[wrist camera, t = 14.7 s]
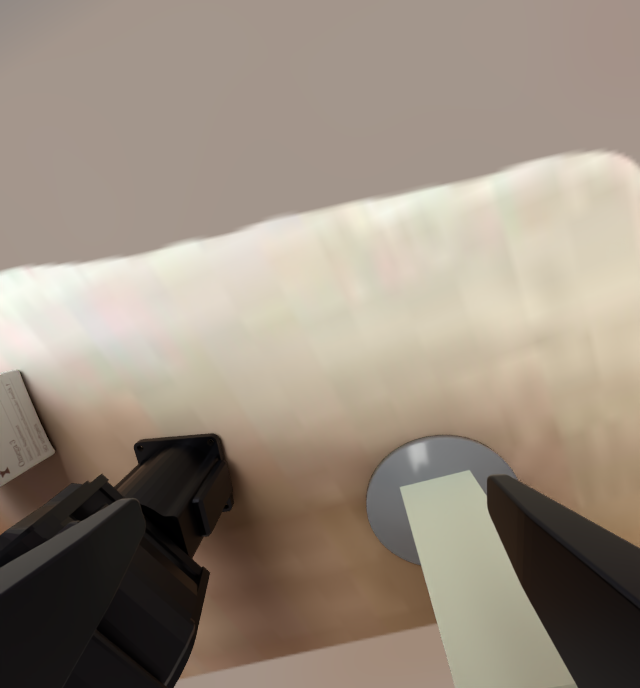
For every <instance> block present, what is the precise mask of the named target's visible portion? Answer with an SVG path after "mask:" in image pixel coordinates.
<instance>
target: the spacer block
mask: <svg viewBox="0 0 640 688" xmlns="http://www.w3.org/2000/svg"><path fill="white" fill-rule="evenodd" d="M400 490H401V494H402V498H403V501H404V505H405V508H406V512H407V516H408V519H409V523H410V526H411V530H412V534H413V537H414V541H415V545H416V548H417V552H418V555H419V559H420V563H421V566H422V570H423V573H424V577H425V581H426V584H427V588H428V592H429V595H430V599H431V602H432V606H433V610H434V613H435V617H436V620H437V624H438V628H439V631H440V635H441V638H442V642H443V646H444V649H445V653H446V656H447V660H448V664H449V667H450V671H451V674H452V678H453V682H454V685H455V688H578V687H577V685H576V683H575V682H574V680H573V678H572V676H571V675H570V673H569V671H568V669H567V667H566V666H565V664H564V662H563V660H562V658H561V657H560V655H559V653H558V651H557V649H556V648H555V646H554V644H553V642H552V640H551V639H550V637H549V635H548V633H547V632H546V630H545V628H544V626H543V624H542V623H541V621H540V619H539V617H538V615H537V614H536V612H535V610H534V608H533V606H532V605H531V603H530V601H529V599H528V597H527V595H526V594H525V592H524V590H523V588H522V586H521V584H520V582H519V580H518V577H517V575H516V573H515V571H514V569H513V566H512V564H511V562H510V560H509V557H508V555H507V553H506V551H505V549H504V546H503V544H502V542H501V540H500V537H499V535H498V533H497V531H496V528H495V526H494V524H493V522H492V520H491V517H490V515H489V512H488V508H487V496H486V494H485V493H484V491H483V490H482V488H481V487H480V485H479V484H478V482H477V481H476V479H475V478H474V476H473V474H472V473H471V471H470V470H467V471H463V472H459V473H455V474H451V475H447V476H443V477H439V478H435V479H431V480H427V481H422V482H418V483H414V484H410V485H406V486H402V487H400Z"/></svg>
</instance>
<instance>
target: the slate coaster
mask: <svg viewBox="0 0 640 688" xmlns="http://www.w3.org/2000/svg"><path fill="white" fill-rule="evenodd" d="M467 470H470V471H471V473H472V474H473V476H474V478H475V479H476V481H477V482H478V484H479V485H480V487H481V488H482V490H483V491H484V493H485V494H486V496H487V478H488V476H490V475H498V474H506V475H509V476H511V477H513V478H514V479H516V480H518V479H517V477H516V475H515V474H514V472H513V470H512V469H511V468H510V467H509V465H508V464H507V463H506V462H505V461H504V460H503V459H502V457H501V456H499V455H498V454H497V453H496V452H495V451H494V450H492V449H491V448H489V447H488V446H486V445H484V444H482V443H480V442H478V441H475V440H472V439H469V438H465V437H461V436H453V435H435V436H428V437H423V438H419V439H416V440H413V441H411V442H408V443H406V444H404V445H402V446H400V447H398V448H397V449H395V450H394V451H393V452H391V453H390V454H389V455H388V456H387V457H385V458H384V459H383V460H382V462H381V463H380V464H379V465H378V466H377V468H376V469H375V471H374V473H373V474H372V477H371V479H370V481H369V484H368V488H367V494H366V507H367V514H368V519H369V522H370V525H371V528H372V530H373V532H374V533H375V535H376V536H377V538H378V539H379V541H380V542H381V543H382V544H383V545H384V546H385V547H386V548H387V549H388V550H390V551H391V552H392V553H394V554H395V555H397V556H399V557H400V558H402V559H404V560H407V561H409V562H412V563H415V564H418V565H421V563H420V559H419V555H418V552H417V548H416V545H415V541H414V537H413V534H412V530H411V526H410V523H409V519H408V516H407V512H406V508H405V505H404V501H403V498H402V494H401V490H400V487H402V486H406V485H410V484H414V483H418V482H422V481H427V480H431V479H435V478H439V477H443V476H447V475H451V474H455V473H459V472H463V471H467Z"/></svg>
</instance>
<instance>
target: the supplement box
mask: <svg viewBox="0 0 640 688" xmlns="http://www.w3.org/2000/svg"><path fill="white" fill-rule="evenodd" d="M54 453H55V450H54V449H53V447H52V445H51V444H50V442H49V440H48V438H47V436H46V433H45V431H44V429H43V427H42V425H41V423H40V420H39V418H38V416H37V414H36V411H35V409H34V406H33V404H32V402H31V399H30V397H29V395H28V393H27V390H26V388H25V385H24V383H23V380H22V377H21V374H20V372H19V370H10V371H6V372H1V373H0V487H1V486H3V485H4V484H6V483H8V482H9V481H11V480H12V479H14V478H16V477H17V476H19V475H20V474H22V473H24V472H25V471H27V470H29V469H30V468H32V467H33V466H35V465H37V464H38V463H40V462H42V461H43V460H45V459H47V458H48V457H50V456H52V455H53V454H54Z"/></svg>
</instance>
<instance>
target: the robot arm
mask: <svg viewBox="0 0 640 688" xmlns="http://www.w3.org/2000/svg"><path fill="white" fill-rule="evenodd" d="M209 439H211V440H213V442H214V443H212V442H210V440H209ZM141 446H142V447H143V448H142V447H141ZM134 450H135V454H136V457H137V460H138V465H137V466H136V467H135V468H134V469H133V470H132V471H131V472H130V473H129V474H128V475H126V476H125V477H124V478H123V479H122V480H121V481H120V482H119V483H118V484H117V485H116V486H115V487H113V486H112V485H111V484H109V483H108V482H107V481H108V479H107V478H106V477H105V476H104V475H103V474H101V475H100V476H98V477H97V478H96V479H95V480H94V481H92V482H91V483H90V482H88V481H86V482H85V483H84V484H74V483H71V484H70V485H69V486H68V487H66V488H65V489H64V490H63V491H61V492H60V493H59V494H57V495H56V496H55V497H54V498H52V499H51V500H50V501H48V502H47V503H46V504H44V505H43V506H42V507H40V508H39V509H37V510H36V511H34V512H33V513H31V514H30V515H28V516H27V517H25V518H24V519H22V520H21V521H20V522H18V523H17V524H15V525H14V526H12V527H11V528H9V529H8V530H6V531H5V532H4V533H3V534H1V535H0V688H174V686H175V684H176V682H177V681H178V679H179V677H180V675H181V674H182V672H183V669H184V667H185V665H186V663H187V661H188V659H189V656H190V654H191V651H192V649H193V646H194V642H195V639H196V634H197V630H198V625H199V621H200V616H201V612H202V607H203V602H204V598H205V593H206V589H207V584H208V580H209V575H210V572H209V571H208V570H207V569H206V568H205V567H200V566H199V565H198V564H197V563H196V562H195V561H194V560H193V559H192V558H193V556H194V554H195V552H196V550H197V548H198V546H199V545H200V543H201V541H202V539H203V537H205V536H209V535H210V534H211V532H212V531H213V529H214V527H215V525H216V523H217V521H218V519H219V517H220V515H221V513H222V512H227V511H230V510H231V508H232V506H233V504H234V501H233V497H232V490H233V489H232V484H231V480H230V476H229V471H228V467H227V463H226V461H225V460H224V458H223V454H222V449H221V445H220V441H219V438H218V436H217V435H215V434H200V435H188V436H177V437H165V438H154V439H142V440H139V441H138V442H137V443H136V444H135V445H134ZM226 504H228V505H226ZM487 508H488V512H489V515H490V517H491V520H492V522H493V524H494V526H495V528H496V531H497V533H498V535H499V537H500V540H501V542H502V544H503V546H504V549H505V551H506V553H507V555H508V557H509V560H510V562H511V564H512V566H513V569H514V571H515V573H516V575H517V577H518V580H519V582H520V584H521V586H522V588H523V590H524V592H525V594H526V595H527V597H528V599H529V601H530V603H531V605H532V606H533V608H534V610H535V612H536V614H537V615H538V617H539V619H540V621H541V623H542V624H543V626H544V628H545V630H546V632H547V633H548V635H549V637H550V639H551V640H552V642H553V644H554V646H555V648H556V649H557V651H558V653H559V655H560V657H561V658H562V660H563V662H564V664H565V666H566V667H567V669H568V671H569V673H570V675H571V676H572V678H573V680H574V682H575V683H576V685H577V687H578V688H640V548H639V547H637V546H635V545H633V544H631V543H630V542H628V541H626V540H624V539H622V538H621V537H619V536H617V535H615V534H613V533H612V532H610V531H608V530H606V529H604V528H603V527H601V526H599V525H597V524H595V523H594V522H592V521H590V520H588V519H586V518H585V517H583V516H581V515H579V514H577V513H576V512H574V511H572V510H570V509H568V508H567V507H565V506H563V505H561V504H559V503H558V502H556V501H554V500H552V499H550V498H549V497H547V496H545V495H543V494H541V493H540V492H538V491H536V490H534V489H532V488H531V487H529V486H527V485H525V484H523V483H522V482H520V481H518V480H516V479H514V478H513V477H511V476H509V475H506V474H498V475H490V476H488V478H487Z"/></svg>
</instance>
